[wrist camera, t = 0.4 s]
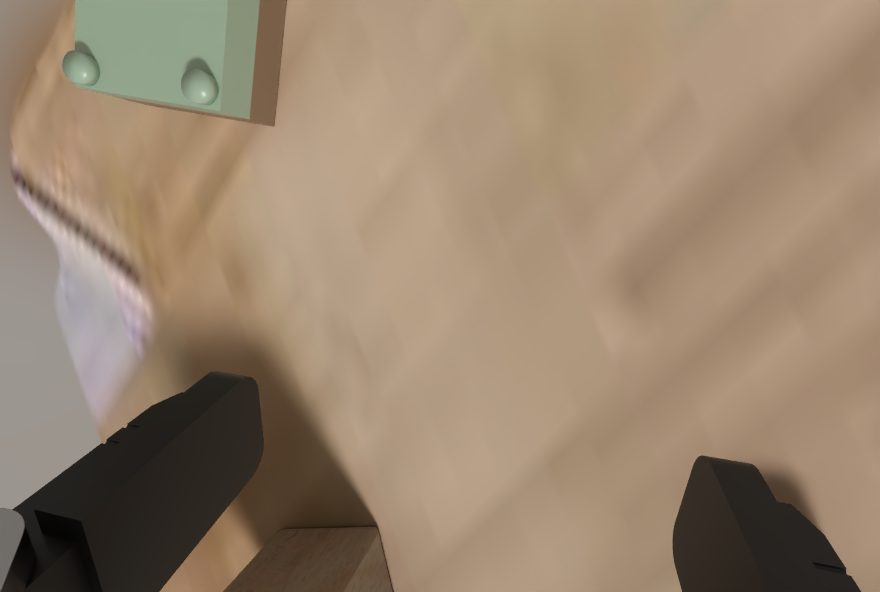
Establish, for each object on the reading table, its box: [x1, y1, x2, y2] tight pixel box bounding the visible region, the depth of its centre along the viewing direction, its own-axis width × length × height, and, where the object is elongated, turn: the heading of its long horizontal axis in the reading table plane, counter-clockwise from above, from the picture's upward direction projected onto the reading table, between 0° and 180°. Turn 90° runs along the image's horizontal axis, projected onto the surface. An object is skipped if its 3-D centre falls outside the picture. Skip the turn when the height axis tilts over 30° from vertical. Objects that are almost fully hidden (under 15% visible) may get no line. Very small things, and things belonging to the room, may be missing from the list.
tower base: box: [63, 0, 287, 126], centre depth 33 cm, size 12×12×7 cm
